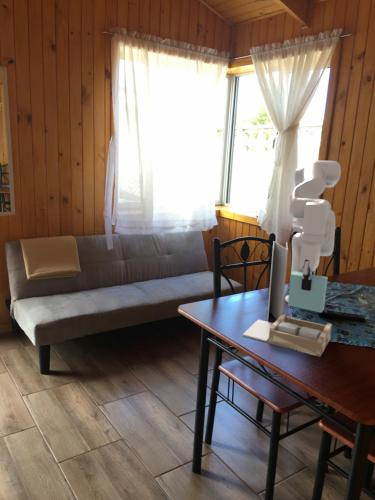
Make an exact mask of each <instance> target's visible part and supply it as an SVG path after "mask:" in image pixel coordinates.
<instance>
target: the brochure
mask: <svg viewBox="0 0 375 500" xmlns="http://www.w3.org/2000/svg"><path fill="white" fill-rule="evenodd" d="M272 243H273V244H272V254H271V255H272V256H271V266H270V267H271V268H270V278H269V280H270V281H269V289H268V290H269V292H268V293H269V294H268V305H267V320H266V321H267V322H269V314H271V315H272V316H273V317H274V319H275V320H277V319H278V318H279V317H280V316H281V315H282V314H283V313H284V312H283V310H284V300H285V289H286V288H285V287H286V279H287V278H286V277H287V269H288V268H287V265H288V256H289V248H288V247H289V246H288V242H287V241H286V242H285V247H284V246H283V245H282V244H281V245H280V244H279V243H278V242H276V241H274V240H273V242H272Z"/></svg>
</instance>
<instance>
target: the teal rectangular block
mask: <svg viewBox="0 0 375 500" xmlns="http://www.w3.org/2000/svg"><path fill="white" fill-rule="evenodd" d="M302 277H303V273H301V272H296V271H294V272H293V273H291V272H290V277H289V278H290V279H289V288H288V295H289V298H288V302H287V306H288V307H294V308H299V309H302V310H307V311H312V312H317V313H323V311H324V310H325V302H326V296H327V295H326V294H327V286H328V278H329V277H328V276H323V275H318V274H315V275H313V274H312V275H311V280H312V283H311V290H310V291H307V290H302V289H301V286H302Z"/></svg>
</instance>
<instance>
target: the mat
mask: <svg viewBox="0 0 375 500" xmlns="http://www.w3.org/2000/svg"><path fill="white" fill-rule="evenodd" d="M273 323H274V322H271V321H268V322H267V320H262V319H257V320H256V321H255V322H254V323H253V324H252V325H251V326H250V327H248V329H247V330H246V331H244V333H242V336H243V337H246V338H250V339H254V340H257V341H262V342H265V343H266V342H268V341H269V329H270V327H271V326H272V324H273Z"/></svg>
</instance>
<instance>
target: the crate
mask: <svg viewBox="0 0 375 500" xmlns="http://www.w3.org/2000/svg"><path fill="white" fill-rule="evenodd" d="M281 322H286V323H290V324H295V325H298V333H297V336H296V335H292V334H288V333H284V332H280V331H278V325H279V324H280V323H281ZM272 323H273V324H272V326H271V327H270V329H269V339H268V341H267V342H268V344H270V345H274V346H278V347H282V348H286V349H288V348H289V350H292V349H293V351H296V350H297V352H299V353H305V354H308V355H312V356H316V357H319V358H320V357H321V356H322V354H323V352H324V351H325V349H326V347H327V345H328V344H329V342H330V340H331V334H332V326H333V323H329V322H327V324H321V323H318V322H312V321H308V320H305V319H299V318H297V317H296V318H294V317H291V316H288V313H285V312H283V313H282V315H281V316H280V317H279V318H278V319H275V321H274V322H272ZM302 326H303V327H307V328H312V329H316V330H320V334H319V338H318V340H313V339H308V338H304V337H300V336H299V330H300V329H301V328H302Z"/></svg>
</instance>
